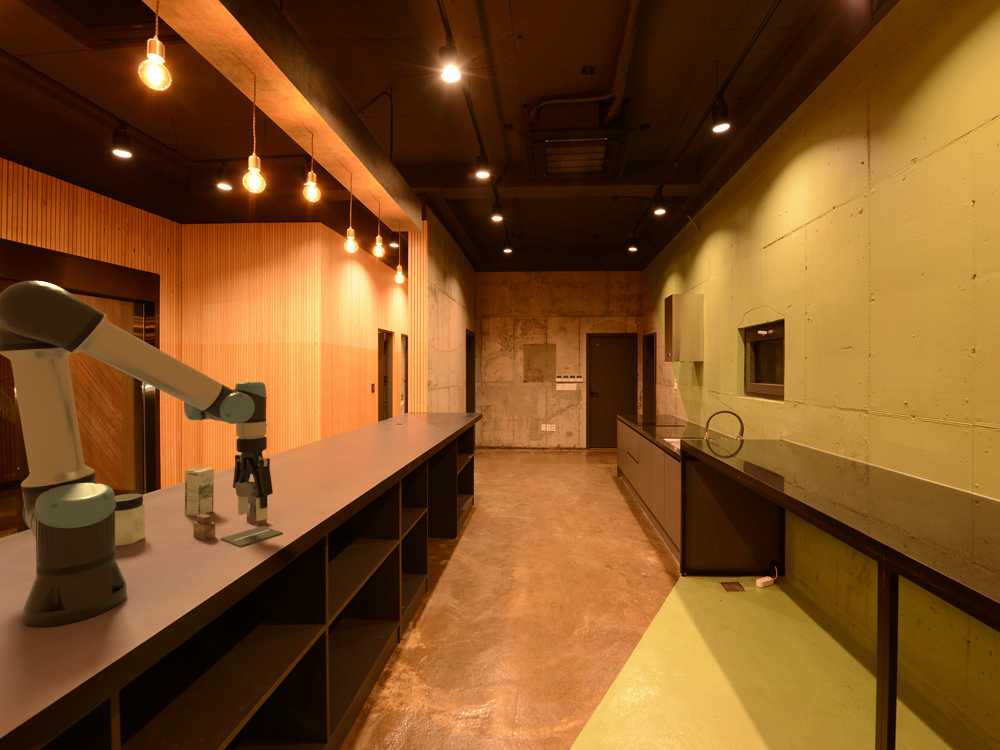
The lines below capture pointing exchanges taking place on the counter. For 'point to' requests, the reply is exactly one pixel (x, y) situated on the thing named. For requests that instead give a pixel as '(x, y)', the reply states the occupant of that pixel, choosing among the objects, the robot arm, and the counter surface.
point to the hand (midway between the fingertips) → (252, 516)
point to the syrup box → (199, 491)
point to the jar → (129, 519)
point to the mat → (251, 536)
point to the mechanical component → (248, 495)
